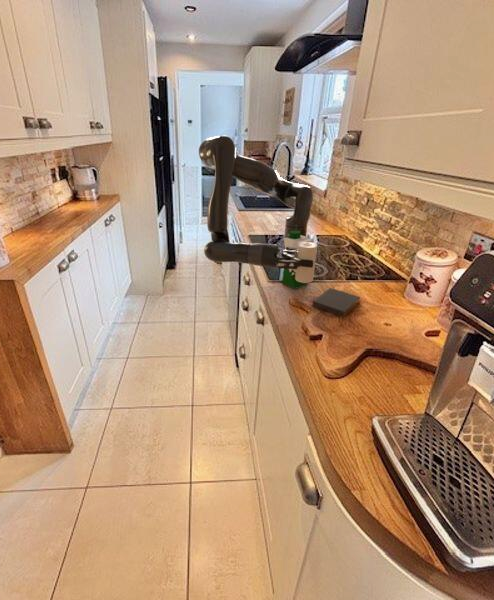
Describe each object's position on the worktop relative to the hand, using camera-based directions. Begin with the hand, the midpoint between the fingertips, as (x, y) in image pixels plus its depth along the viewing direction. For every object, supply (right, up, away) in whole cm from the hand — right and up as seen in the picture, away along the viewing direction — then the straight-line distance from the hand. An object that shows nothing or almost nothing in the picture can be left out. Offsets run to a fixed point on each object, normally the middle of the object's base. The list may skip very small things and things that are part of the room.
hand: (314, 260), depth 104 cm
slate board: (+10, -14, +8) cm, 19 cm away
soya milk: (-1, -6, +23) cm, 24 cm away
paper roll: (-2, -6, +4) cm, 7 cm away
